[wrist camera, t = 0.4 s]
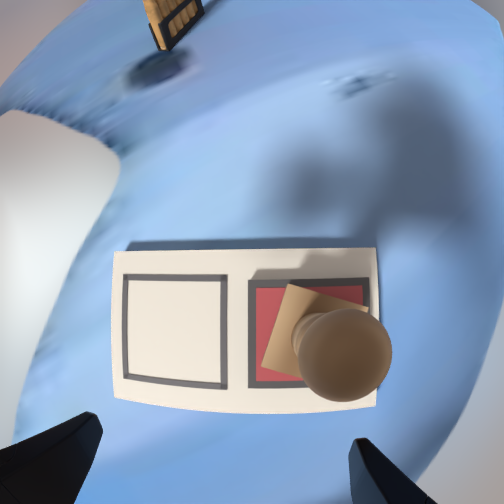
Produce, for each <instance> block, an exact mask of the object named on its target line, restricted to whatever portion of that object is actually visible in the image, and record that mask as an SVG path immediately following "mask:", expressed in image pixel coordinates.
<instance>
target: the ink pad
mask: <svg viewBox="0 0 504 504" xmlns="http://www.w3.org/2000/svg"><path fill="white" fill-rule="evenodd" d="M287 284H292V285H295V286H298V287H302V288H305V289H308V290H311V291H315V292H318V293H321V294H325V295H328V296H332V297H335V298H338V299H342V300H345V301H348V302H352V303H355V304H359V305H362V306H366V307H369V308H368V311H367V313H369V314H370V284H369V277H358V278H324V279H271V280H248V388H254V389H281V388H309V387H308V386H307V385H306V383H305V382H304V380H303V378H299V377H295V376H292V375H288V374H284V373H281V372H278V371H274V370H271V369H268V368H264V367H261V363H262V359H263V356H264V353H265V350H266V347H267V344H268V341H269V338H270V335H271V332H272V329H273V326H274V323H275V320H276V317H277V314H278V311H279V308H280V305H281V301H282V298H283V295H284V292H285V289H286V286H287Z"/></svg>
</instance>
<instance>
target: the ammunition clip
mask: <svg viewBox="0 0 504 504" xmlns="http://www.w3.org/2000/svg"><path fill="white" fill-rule="evenodd" d="M143 3H144V6H145V11H146V14H147V16H148V19H149V21H150V23H149V24H148V25H149V28H150V30H151V33H152V35H153V38H154V41H155V43H156V46H157V48H158V51H170V50H171V49H172V48H173V47H174V46H175V44H176V43H177V42H178V41H179V40H180V39H181V38H182V37H183V35H184V34H185V33H186V32H187V31H188V30H189V29H190V28H191V27H192V26H193V25H194V24H195V23H196V22H197V21H198V19H199V18H200V17H201V16H202V15H203V14H204V9H203V6H202V2H201V0H143Z"/></svg>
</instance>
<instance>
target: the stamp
mask: <svg viewBox="0 0 504 504" xmlns="http://www.w3.org/2000/svg"><path fill="white" fill-rule="evenodd" d="M368 308H369V307H366V306H362V305H359V304H355V303H352V302H348V301H345V300H342V299H338V298H335V297H332V296H328V295H325V294H321V293H318V292H315V291H311V290H308V289H305V288H302V287H298V286H295V285H292V284H287V286H286V289H285V292H284V295H283V298H282V301H281V305H280V308H279V311H278V314H277V317H276V320H275V323H274V326H273V329H272V332H271V335H270V338H269V341H268V344H267V347H266V350H265V353H264V356H263V359H262V363H261V367H264V368H268V369H271V370H274V371H278V372H281V373H284V374H288V375H292V376H295V377H299V378H303V380H304V382H305V383H306V385H307V386H308V387H309V388H310V389H311V390H312V391H313V392H314V393H315V394H317V395H318V396H320V397H322V398H324V399H326V400H330V401H334V402H350V401H355V400H358V399H361V398H363V397H365V396H367V395H369V394H370V393H371V392H373V391H374V390H375V389H376V388H377V387H378V386H379V385H380V384H381V383H382V381H383V380H384V378H385V377H386V375H387V373H388V371H389V368H390V365H391V360H392V345H391V341H390V338H389V335H388V333H387V331H386V329H385V328H384V326H383V325H382V324H381V323H380V322H379V321H378V320H377V319H376V318H375V317H373V316H372V315H370V314H369V313H367V311H368Z"/></svg>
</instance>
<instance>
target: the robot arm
mask: <svg viewBox="0 0 504 504" xmlns="http://www.w3.org/2000/svg"><path fill="white" fill-rule="evenodd" d="M102 434H103V428H102V426H101V424H100V421H99V419H98V417H97V415H96V414H94V413H91V412H84V413H82V414H80V415H78V416H76V417H74V418H72V419H69V420H67V421H65V422H63V423H61V424H59V425H57V426H55V427H52V428H50V429H48V430H46V431H44V432H42V433H39V434H37V435H35V436H33V437H30V438H28V439H26V440H23V441H21V442H19V443H17V444H14V445H11V446H9V447H6V448H4V449H1V450H0V504H74V502H75V500H76V498H77V496H78V493H79V491H80V489H81V487H82V485H83V483H84V480H85V478H86V476H87V474H88V472H89V470H90V468H91V465H92V463H93V460H94V458H95V455H96V452H97V449H98V446H99V443H100V440H101V437H102ZM349 471H350V485H351V496H352V502H353V504H437V503H436V502H435V501H434V500H433V499H431V498H430V497H429V496H427V494H426V493H425V492H423V491H422V490H421V489H420V488H419V487H418V486H417V485H416V484H415V483H414V482H412V481H411V480H410V479H409V478H408V477H407V476H406V475H405V474H404V473H403V472H402V471H401V470H400V469H398V468H397V467H396V466H395V465H394V464H393V463H392V462H391V461H390V460H389V459H388V458H387V457H386V456H385V455H384V454H383V453H382V452H381V451H380V450H379V449H378V448H377V447H376V446H375V445H374V444H372V443H371V442H370V441H369V440H368V439H367V438H357V439H355V440H354V441H353V443H352V446H351V449H350V452H349Z"/></svg>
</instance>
